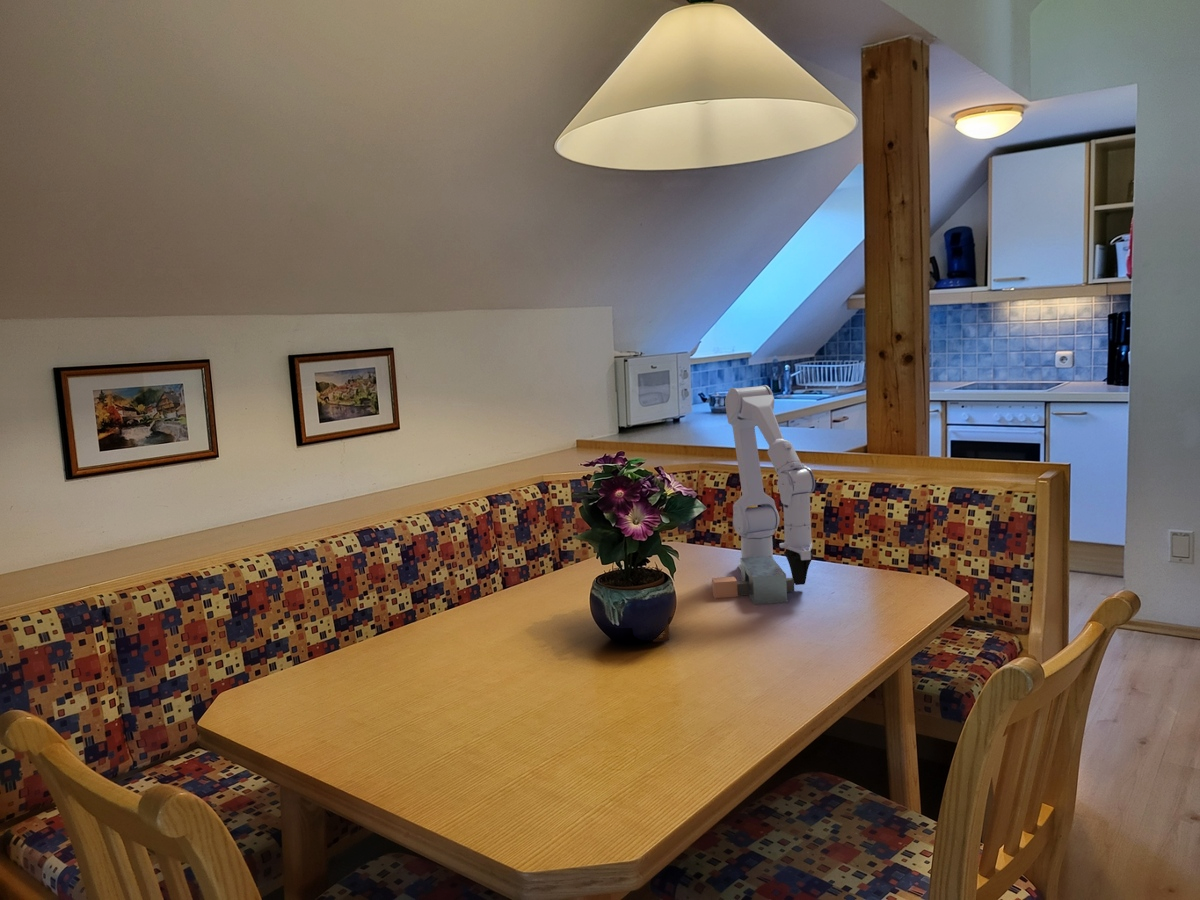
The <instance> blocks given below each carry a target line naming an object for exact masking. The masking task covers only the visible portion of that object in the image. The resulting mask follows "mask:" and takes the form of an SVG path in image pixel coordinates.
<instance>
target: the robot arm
mask: <svg viewBox="0 0 1200 900" xmlns="http://www.w3.org/2000/svg"><path fill="white" fill-rule="evenodd" d="M724 405H725V410H726V411H725V412H726V418H727V423H728V424H729V425H731V427H732V432H733V439H734V440H733V441H734V446H735V453H736V460H737V466H738V467H737V469H738V474H739V481H740V487H741V496H740V497H739V498H738V499H737V500H736V501H735V502H734V503H733V504H732V510H733V511H732V513H733V515H732V526H733V529H734V531H735V532H736V534H738V536H740V539H741V540H740V552H741V558H746V557H761V556H771V557H772V558H773V559H774V555H773V554H774V553H773V552H774V549H773V535H775V533H776V532H775V531H777V529H778V527H779V525H780V514H779V511H778V510H777V507H776V502H775V499H773V498H772V497H771V496H769V494H766V493H765V491H764V490H765V489H764V484H763V483H764V482H763V477H762V471H761V463H760V457H759V456H760V455H759V449H758V443H757V441H758V440H757V436H756V428H755V427H756V426H757V428H758V429H759V431H760V433H761V434H762V436H763V437H764V439H765V441H766V442H767V444H768V449H767V451H766V453H767V456H768V458H769V460H770V462H771V464H772V466H773V468H774V471H775V472H776V474H777V477H778V478H777V481H776V486H777V491H778V492H779V495H780V496H779V497H780V501H781V502H780V503H781V504H782V505H783V535H784V542H781V543H779V548H780V549H786V550H785V551H784V552H783V554H784V556H785V558H786V559H787V562H788V565H789V568H790V573H791V576H792V577H791V578H793V580H794V586H795V585H796V586H800V585H806V580H807V576H808V570H809V567H810V565H811V562H812V560H813V558H814V554H813V553H812V552H811V551H812V548H813V541H812V528H811V527H812V526H811V525H812V523H811V522H812V520H811V519H812V518H811V494H812V493H813V492H814V491H815V488H816V479H815V475H814V472H813V471H812V469H811V468H810V467H808V466H807V465H806V464H805V463H802V462H801V460H800V458H799V456H798V454H797V451H796V450H795V447H794V446H793V443H792V442H791V441H789V440H787V439H784V435H783V434H782V431H781V429H780V426H779V423H778V420H777V417H776V415H775V413H774V408H775V397H774V393H773V391H772V389H771V388H770V387H769V385H766V384H764V385H763V384H762V385H759V386H758V385H757V386H749V387H747V386H746V387H737V388H736V387H732V388H730V389H729V390H728V391H727V394H726V397H725V399H724ZM752 506H756V507H752ZM737 567H738V568H739V570H740V571H741V563H737Z"/></svg>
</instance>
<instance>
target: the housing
mask: <svg viewBox="0 0 1200 900" xmlns="http://www.w3.org/2000/svg"><path fill="white" fill-rule="evenodd" d="M739 558H740V564H741V570H740V577H741V579H740V580H741V581H749V593H750V595H749V598H750V599H751V602H752V603H753V604H754V605H766V604H780V603H784V604H785V603H788V592H787V583H786V578H787V574H786V573H785V571H784V570H783V569H782V567H781V566H780V565H779V564H778V562H777V561H776V560H775V559H774V557H773V558H772V557H771V556H761V557H746V558H742V557H739Z"/></svg>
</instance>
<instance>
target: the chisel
mask: <svg viewBox="0 0 1200 900" xmlns="http://www.w3.org/2000/svg"><path fill="white" fill-rule="evenodd" d="M786 583H787V593H789V592H790V593H791V592H795V584H794V580H793V577H786ZM711 589H712V596H713V597H714V599H721V598H737V597H739V596H745V595H746V596H748V595H749V596H750V593H749V581H738V580H737V579H736V577H735V576H724V577H712V578H711Z"/></svg>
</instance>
